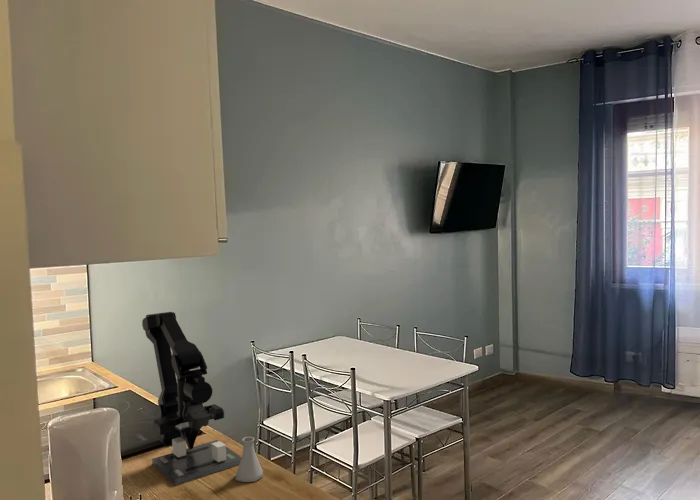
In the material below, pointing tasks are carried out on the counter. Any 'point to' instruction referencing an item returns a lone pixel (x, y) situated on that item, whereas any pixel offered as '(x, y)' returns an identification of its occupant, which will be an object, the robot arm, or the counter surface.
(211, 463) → the dark grey flat plate
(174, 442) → the block
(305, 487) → the counter surface
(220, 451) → the block
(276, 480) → the counter surface
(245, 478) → the flask
